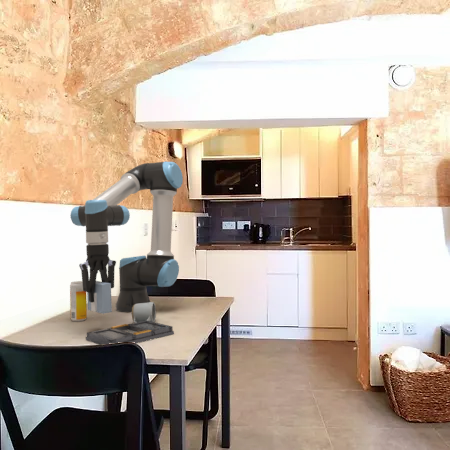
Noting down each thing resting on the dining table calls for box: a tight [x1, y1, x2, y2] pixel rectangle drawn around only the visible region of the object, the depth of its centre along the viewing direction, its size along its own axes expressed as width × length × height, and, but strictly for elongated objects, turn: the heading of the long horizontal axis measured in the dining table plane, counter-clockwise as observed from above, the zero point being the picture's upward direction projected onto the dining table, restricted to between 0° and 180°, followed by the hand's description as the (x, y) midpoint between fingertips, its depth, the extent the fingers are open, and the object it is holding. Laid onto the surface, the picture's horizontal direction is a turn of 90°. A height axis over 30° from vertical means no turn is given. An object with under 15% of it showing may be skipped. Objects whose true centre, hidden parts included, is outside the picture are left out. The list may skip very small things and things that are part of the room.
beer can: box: [69, 280, 88, 322], centre depth 181 cm, size 6×6×15 cm
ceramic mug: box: [131, 301, 157, 323], centre depth 175 cm, size 11×8×8 cm
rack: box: [85, 321, 175, 345], centre depth 154 cm, size 16×24×3 cm, turn 136°
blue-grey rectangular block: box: [86, 280, 113, 315], centre depth 162 cm, size 10×4×10 cm, turn 46°
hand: (99, 309), depth 163 cm, fingers closed on blue-grey rectangular block, 3 cm apart
